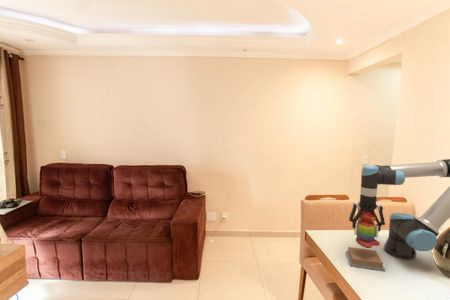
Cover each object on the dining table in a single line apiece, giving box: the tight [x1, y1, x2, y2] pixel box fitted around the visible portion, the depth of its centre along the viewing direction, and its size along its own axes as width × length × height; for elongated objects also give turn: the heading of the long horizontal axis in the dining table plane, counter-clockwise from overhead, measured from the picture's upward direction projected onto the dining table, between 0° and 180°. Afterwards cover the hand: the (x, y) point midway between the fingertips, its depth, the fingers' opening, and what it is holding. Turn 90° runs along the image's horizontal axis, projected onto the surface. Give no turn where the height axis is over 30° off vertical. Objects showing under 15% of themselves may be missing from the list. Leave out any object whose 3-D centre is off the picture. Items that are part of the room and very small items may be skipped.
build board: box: [345, 246, 386, 273], centre depth 134 cm, size 16×14×4 cm
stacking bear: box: [355, 212, 381, 249], centre depth 132 cm, size 11×10×18 cm
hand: (365, 235), depth 132 cm, fingers closed on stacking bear, 9 cm apart
